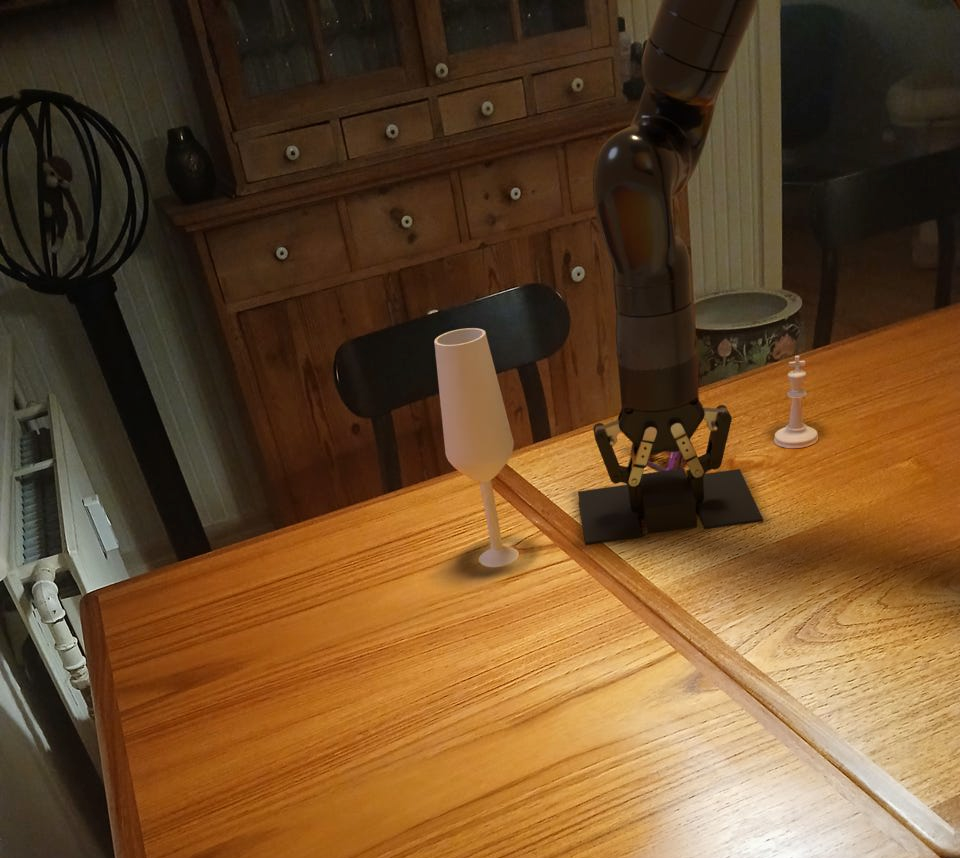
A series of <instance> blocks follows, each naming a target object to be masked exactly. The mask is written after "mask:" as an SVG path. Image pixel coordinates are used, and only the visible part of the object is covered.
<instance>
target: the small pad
mask: <svg viewBox="0 0 960 858" xmlns="http://www.w3.org/2000/svg"><path fill="white" fill-rule="evenodd" d="M641 481H642V485H643V494H644V495H643V507H644V516H643V520H644V524H645V527H646V532H647V534H655V533H663V532H670V531H678V530H686V529H692V528H698V521H697V520H698V519H697V509H696V501H695V498H694V495H693V492H692V490H691V488H690V485H689V482H688V480H687V472H686V470H685V467H684V468H683V467H682V468H681V467H680V469H676V468H673V469H672V470H667V471H659V470H658V471H654V472H646V473H645V472H644V473H643V474H642V477H641Z"/></svg>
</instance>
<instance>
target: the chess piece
mask: <svg viewBox="0 0 960 858" xmlns="http://www.w3.org/2000/svg"><path fill="white" fill-rule="evenodd" d="M788 367H789V368H794V370H793V369H792V370H790V371H789V372H788V373H787V379H788V381H789V384H790V387H791V389H789V390H788V391H787V393H786V397H787V398H789V399H791V407H790V412H789V419H788V423H787V424H786V425H785V426H784V427H782V428H780V429H778V430H777V431H776V432H775V433H774V438H773V442H774V444H775V445H776V446H779V447H781V448H785V449H801V448H802V449H803V448H807V447H810V446H813V445H814V444H816V443H817V442H818V441H819V436H818V431H817V430H816V429H815V428H814V427H811V426H808V425H807V423H805V422H804V416H803V407H802V398H804V397H806V396H807V391H806V390H805V389H802V388H803V386H804V382H805V380H806V377H807V372H806V371H805V370H803V369H800V367H806V360H800V355H794V361H788Z"/></svg>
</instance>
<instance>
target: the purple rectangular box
mask: <svg viewBox="0 0 960 858" xmlns="http://www.w3.org/2000/svg"><path fill="white" fill-rule="evenodd" d="M632 446H633V443H632V442H631V448H630V450H631V449H632ZM663 453H664V454H665V455H666V456H667V457H669V460H668V464H667V468H664V467H662V466H660V465H658V464H656V463H655V462H652V461H650V459H651V455H650V456H649V458H648V462H647V465H646V466H649V467H650V468H653V469H655V470H656V471H658V472H659V471H667V470H674V468H675V469H681V467H682V461H683V459H684V457H683V455H682V453H681V451H678V452H663ZM629 455H630V456H631V452H630V453H629ZM630 456H629V457H630ZM676 459H677V462H676ZM675 462H676V465H675Z"/></svg>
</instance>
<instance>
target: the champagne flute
mask: <svg viewBox="0 0 960 858" xmlns="http://www.w3.org/2000/svg"><path fill="white" fill-rule="evenodd" d="M433 343H434V352H435V363H436V372H437V382H438V383H437V384H438V392H439V403H440V413H441V422H442V433H443V443H444V444H443V445H444V452H445V457H446V459H447V461H448V462H449V464H450V465H451V466H452V467H453V468H454V469H455V470H457V471H458V472H459V473H460V474H462V475H464V476H466V477H468V478H469V479H471V480H473V481H476V482H479V486H480V492H481V498H482V503H483V509H484V515H485V519H486V525H487V531H488V535H489V536H488V537H489V542H490V548H489V549H487V550H485V551H484V552H483V553H482V554H480V556H479V558H478V562H479V564H481V565H482V566H484V567H486V568H487V567H488V568H501V567H505V566H508V565H511V564H512V563H514V562H515V561H516V560H517V559H518V558H519V555H520V554H519V551H518V550H517V549H516V548H514V547H511V546H505V545H503V539H502V534H501V529H500V523H499V516H498V511H497V504H496V500H495V494H494V488H493V483H492V479H494V478H496V477H497V475H499V473H500V472H501V471H502V470H503V469H504V467H505V466H506V464H508V462H509V460H510V459H511V456H512V454H513V450H514V447H515V442H514V438H513V434H512V430H511V427H510V421H509V419H508V414H507V411H506V407H505V402H504V399H503V394H502V391H501V388H500V383H499V379H498V375H497V372H496V368H495V364H494V360H493V356H492V351H491V349H490V344H489V340H488V337H487V332H486V330H484V329H482V328H476V327H469V328H468V327H467V328H459V329H454V330H450V331H447V332H445V333H442V334H440V335H439V336H437V337H435V339H434V342H433Z"/></svg>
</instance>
